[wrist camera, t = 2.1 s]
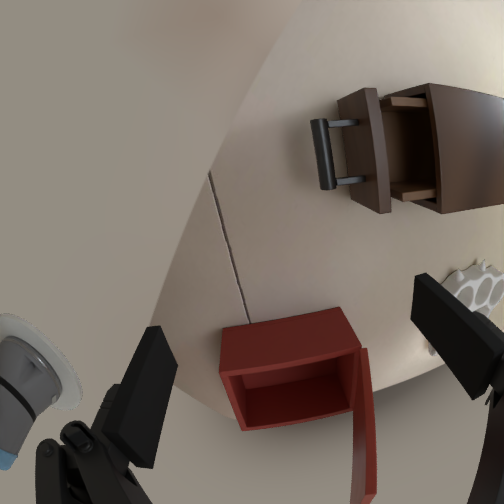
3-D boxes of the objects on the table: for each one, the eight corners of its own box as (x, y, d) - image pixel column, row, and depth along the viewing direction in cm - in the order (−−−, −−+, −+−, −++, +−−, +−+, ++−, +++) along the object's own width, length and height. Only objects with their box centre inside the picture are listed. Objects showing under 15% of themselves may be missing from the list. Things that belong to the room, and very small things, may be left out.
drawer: (312, 205, 28) (332, 222, 21) (295, 103, 24) (312, 89, 18) (440, 188, 27) (477, 199, 21) (431, 102, 24) (469, 97, 17)
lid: (347, 523, 15) (355, 523, 15) (364, 495, 11) (376, 493, 11) (353, 413, 29) (359, 412, 29) (359, 348, 25) (367, 347, 25)
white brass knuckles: (409, 354, 37) (419, 273, 32) (485, 320, 36) (499, 246, 31) (419, 368, 34) (433, 284, 29) (495, 330, 33) (512, 253, 28)
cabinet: (396, 196, 28) (441, 214, 20) (384, 95, 24) (428, 82, 16) (473, 187, 28) (517, 201, 20) (465, 102, 24) (510, 100, 16)
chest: (241, 389, 37) (241, 431, 30) (222, 328, 33) (218, 372, 26) (340, 371, 37) (355, 410, 30) (340, 306, 33) (361, 345, 26)
